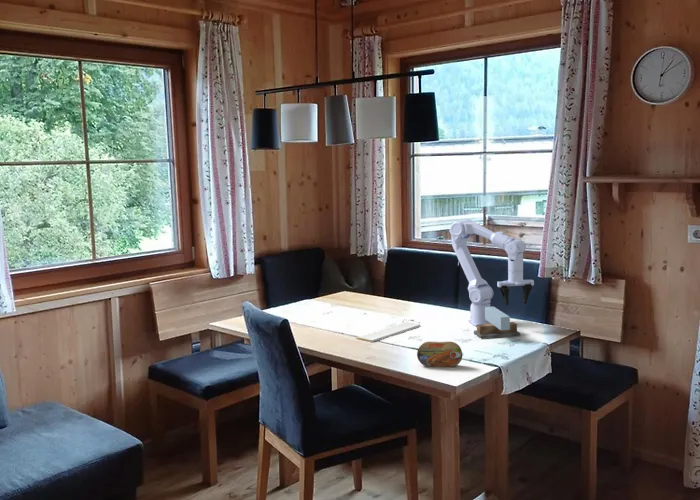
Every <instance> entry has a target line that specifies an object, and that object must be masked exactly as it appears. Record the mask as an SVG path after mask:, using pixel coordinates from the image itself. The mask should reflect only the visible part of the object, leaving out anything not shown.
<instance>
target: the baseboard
mask: <svg viewBox="0 0 700 500" xmlns="http://www.w3.org/2000/svg"><path fill="white" fill-rule="evenodd" d="M409 321H410V322H409ZM401 322H402V323H399V324H395V325H392V326H389V327H386V328H383V329H380V330H377V331H373V332H371V333H367V334H363V335H361V336H358V337H355V339H356V340H358V341H362V342H368V343H375V342H378V341H381V340H383V339H387V338H390V337H393V336H396V335H399V334H401V333H405V332H407V331H411V330H414V329H416V328H417V329H418V328H420V327H421V323H420V322H417V323H415V320H414V319H407V321H406V319H404V320H402V321H401Z"/></svg>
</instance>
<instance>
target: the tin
mask: <svg viewBox="0 0 700 500" xmlns="http://www.w3.org/2000/svg"><path fill="white" fill-rule="evenodd" d="M416 357H417V360H418V362H419V363H420V364H421V365H422V366H425V367H427V368H454V367H457V366H458V365H459V364H460V363H461V361H463V360H462V359H463V351H462V348H461V346H460V345H459V344H457V342H454V341H425V342H424V343H421V344H420V345H419V347H418V349H417V352H416Z"/></svg>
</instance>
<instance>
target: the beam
mask: <svg viewBox="0 0 700 500" xmlns="http://www.w3.org/2000/svg"><path fill="white" fill-rule="evenodd" d="M485 320H487V321H488V322H490V323H491V324H493V325H494V326H495V327H497V328H498V329H500V330H510V322H511V317H510V316H509V315H508V314H506V313H505V312H503V311H502V310H500V309H498V308H497V307H495V306H490V307H485Z"/></svg>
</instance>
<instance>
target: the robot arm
mask: <svg viewBox="0 0 700 500" xmlns="http://www.w3.org/2000/svg"><path fill="white" fill-rule="evenodd" d="M448 232H449V233H450V237H451V246H452V248H453V251H454V253H455V255H456V257H457V259H458V261H459V263H460V266H461V268H462V270H463V273H464V275H465V277H466V279H467V281H468V286H467V290H468V295H469V300H470V301H471V304H470V310H469V311H470V319H468V322H469V323H470V324H472V325H473V326H474V327H477V324H491V323H490V322H488V321H487V320H485V307H491V299H493V297H494V290H493V288H492V287H491V286H490V285H489V283H488V282H487V280H485V279H483V278H482V275H481V274H480V272H479V269H478V267H477V266H476V262H475V261H474V259H473V256H472V254H471V252H470V251H469V248H468V245H467V243H468V240H469V239H470V237H471V235H473V234H475V235H477V236H479V237H482V238H483V239H484V238H485V239H487V240H489V241H490V242H491V244H492V245H493V246H495V247H497V248H499V249H502V250H503V251H505V252H506V254H507V258H508V259H507V273H508V275H507V277H508V278H507V280H503V281H496V282H497V284H496V285H497V287H498V288H499V291H500V293H501V295H502V297H503V298H502V299H503V302H504V303H503V304H504V305H506V306H508V305H509V291H510V288H508V287H520V286H521V289H522V303H523V304H525V305H527V302H528V298H529V296H530V293H531V292H532V291H533V286H535V280H534V279H524V252H525V251H526V247H527V245H526V243H525V241H524V240H522V239H520V238H515V237H514V236H509V235H507V234H505V232H504V231H496V232H494V231H492V230H491V229H489V228H486V227H484V226H483V225H481V224H479V223H477V222H476V221H474V220H473V221H472V219H464V220H459V221H457V220H456V221H454V222H453V223H451V226H450V228H449V231H448Z"/></svg>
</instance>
